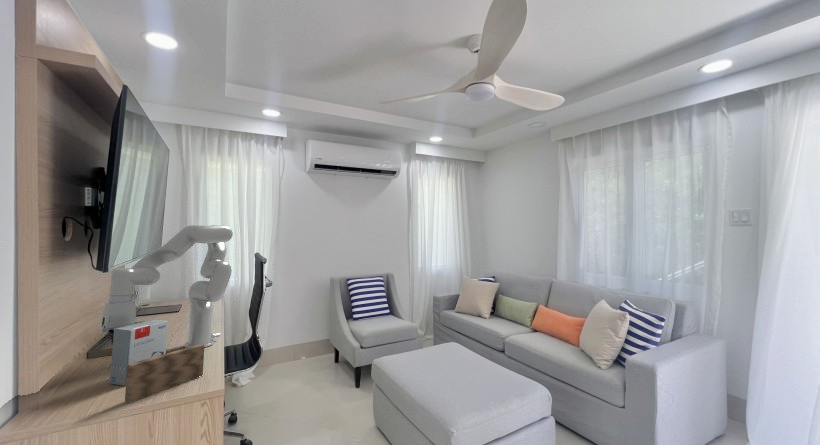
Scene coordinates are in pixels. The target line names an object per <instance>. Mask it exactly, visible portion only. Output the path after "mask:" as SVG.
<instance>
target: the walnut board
mask: <svg viewBox="0 0 820 445" xmlns="http://www.w3.org/2000/svg"><path fill="white" fill-rule="evenodd" d="M204 360H205V347H204V345H203V344H198V345H195V346H191V347H188V348H185V347H184V348H181V349H178V350H174V351H171V352H167V353H166V354H163V355H159V356H156V357H152V358H149V359H145V360H141V361H138V362H134V363H131V364H127V375H126V386H125V392H124V402H125V403H127V404H132V403H134V402H137V401H139V400H142V399H145V398H147V396H148V397H150V396H153V395H155V393H156V394H158V393H161V392H163V390H164V391H165V390H166V391H167V390H169V389H172V388H174V386H175V387H177V386H179V384H180V385H182V384H181V383H183V384H185V383H188V382H190V381H189V380H191V381H193V380H195V379H194V378H196V379H198V378H197V377H199V376H201V377H203V376H204V362H205V361H204ZM202 375H203V376H202ZM199 378H200V377H199ZM192 379H193V380H192ZM187 381H188V382H187ZM184 382H185V383H184ZM176 385H177V386H176ZM171 387H172V388H171ZM160 391H161V392H160ZM152 394H153V395H152Z"/></svg>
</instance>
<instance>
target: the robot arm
mask: <svg viewBox="0 0 820 445" xmlns="http://www.w3.org/2000/svg"><path fill="white" fill-rule="evenodd" d="M233 233H234V232H233V230H232V228H230V227H229V226H228V225H215V224H214V225H191V224H190V225H187V226H185V227H184V228H182V229H181V230H180V231H178V232H177V233H176V234H175V235H174V236H173V237H172V238H171V239H169V240H168V241H167V242H166V243H165V244H163V245H162V246H160V247H159V248H156V249H155V250H154V251H151V252H149V253H148V254H146V255H145V256H143V257H142V258H141V259H140V260H138V261H137V262H136V263H135V264H134V265H132V266H131V267H130V268H129V267H126V268H125V267H124V268H123V267H121V268H119V267H118V268H114V269H113V270H112V271H111V279H110V287H109V296H108V302H106V303H105V304H104V307H103V310H102V314H101V318H100V327H101V329H100V332H101V333H109V334H110V335H111V341H110V342H111V344H112V345H113V337H114V329H116V328H120V327H124V326H129V325H133V324H136V321H137V320H136V319H137V308H136V301H135V299H136V298H138V294H135V286H150V285H154V284H156V283H158V282H159V281H160V279H161V278H160V277H161V274H160V272H159V270H158V269H157V268H158V267H160V266H162V265H164V264H168V263H170V262H173V261H175V260H177V259H180V258H181V257H182V256H184V254H185V253H186V252H187V251H189V250H190V249H191V248H192V247H193V246H194V245H195V244H207V252H206V255H205V256H204V260H203V262H202V265H201V267H200V271H199V272H200V276H201V277H203V278H204V279H207V280H198V281H196V282H194V283H192V284H191V285H190V287H189V290H188V296H189V298H188V299H189V305H190V306H189V307H190V309H189V321H188V322H189V325H188V338H187V339H188V341H187V342H185V343H184V344H183V347H184V348H188V347H191V346H195V345H198V344H203V345H204V348H208V347H210V346H212V345H214V344H215V338H219V337H221V333H220V332H217V333H213V332H212V328H213V327H212V325H213V310H214V309H213V307H214V306H213V303H216V302H218V301H220V300H221V299H222V298H223V296H224V294H225V293H226V289H227V288H228V284H229V282H230V279H231V276H232V266H231V264H230V263H229V262H227V261H225V258H226V255H227V245H226V242H229V241H230V240H232V238H233V235H234V234H233ZM208 280H209V281H208Z"/></svg>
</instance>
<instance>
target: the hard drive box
mask: <svg viewBox="0 0 820 445" xmlns="http://www.w3.org/2000/svg"><path fill="white" fill-rule="evenodd" d="M168 326H169V320H161V319H150V320H145V321H141V322H137V323H134V324H133V325H129V326H124V327H120V328H116V329H114V337H113V344H112V350H111V362H110V365H111V366H110V373H109V374H110V375H109V384H113V385H117V386H118V385H119V386H123V387H124V386H125V387H126V375H127V364H131V363H134V362H138V361H141V360H145V359H149V358H152V357H156V356H159V355H163V354H166V352H167V343H168V342H167V341H168V328H169V327H168Z"/></svg>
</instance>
